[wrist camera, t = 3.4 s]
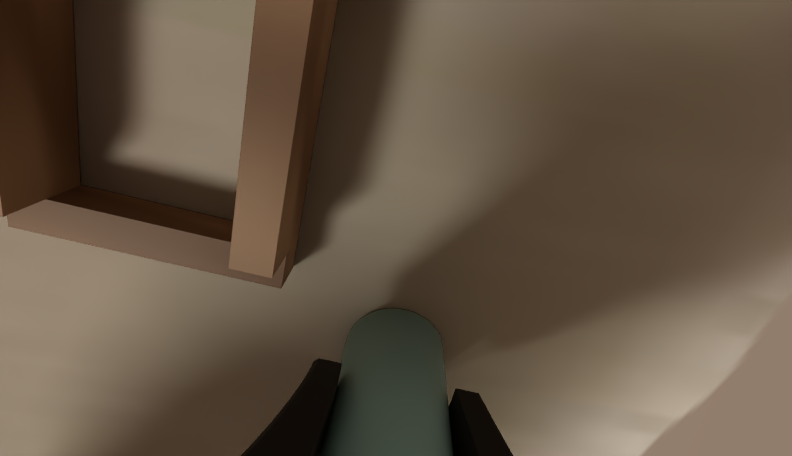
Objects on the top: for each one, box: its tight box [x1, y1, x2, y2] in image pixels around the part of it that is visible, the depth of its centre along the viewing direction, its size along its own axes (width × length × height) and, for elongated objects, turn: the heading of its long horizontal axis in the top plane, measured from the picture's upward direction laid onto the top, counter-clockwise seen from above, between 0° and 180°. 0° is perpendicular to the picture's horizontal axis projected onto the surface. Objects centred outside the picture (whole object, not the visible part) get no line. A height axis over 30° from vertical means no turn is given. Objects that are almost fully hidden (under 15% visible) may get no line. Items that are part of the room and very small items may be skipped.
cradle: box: [0, 0, 338, 288], centre depth 8 cm, size 12×12×5 cm
